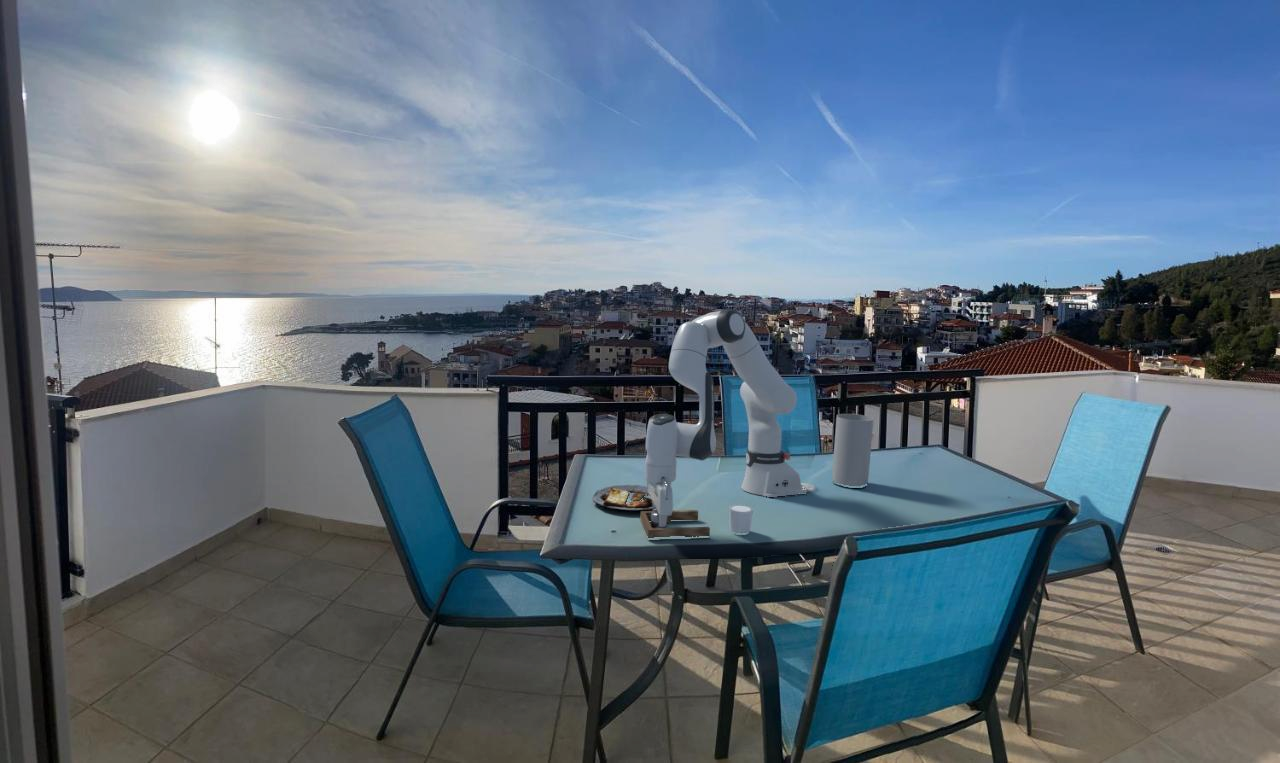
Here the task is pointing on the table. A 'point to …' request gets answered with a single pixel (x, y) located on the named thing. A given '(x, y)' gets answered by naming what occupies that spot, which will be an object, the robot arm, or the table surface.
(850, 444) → the cylinder vase
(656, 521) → the grey rounded piece
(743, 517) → the shot glass
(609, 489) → the food plate
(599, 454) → the table surface
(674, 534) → the wooden u-shaped frame
